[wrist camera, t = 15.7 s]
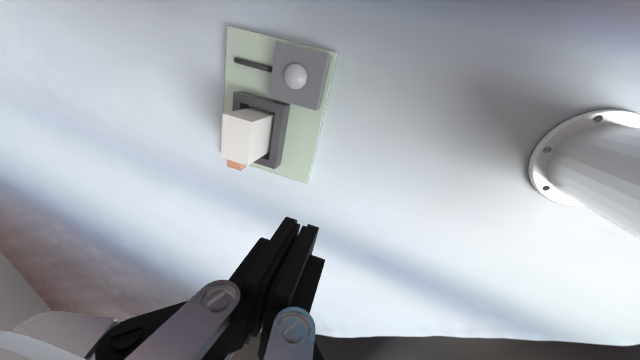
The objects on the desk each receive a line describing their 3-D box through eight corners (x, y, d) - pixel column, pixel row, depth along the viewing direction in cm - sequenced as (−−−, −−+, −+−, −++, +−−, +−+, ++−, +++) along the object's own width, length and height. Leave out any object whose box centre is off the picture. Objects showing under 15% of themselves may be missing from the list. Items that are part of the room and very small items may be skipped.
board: (338, 53, 32) (332, 49, 28) (308, 180, 40) (301, 191, 36) (233, 27, 34) (212, 20, 29) (226, 154, 42) (210, 162, 38)
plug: (277, 113, 35) (251, 122, 28) (271, 155, 39) (246, 172, 31) (253, 106, 36) (222, 113, 29) (249, 148, 39) (220, 163, 32)
